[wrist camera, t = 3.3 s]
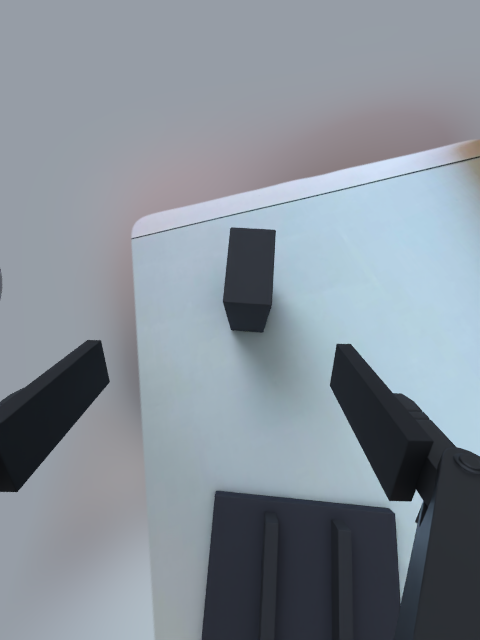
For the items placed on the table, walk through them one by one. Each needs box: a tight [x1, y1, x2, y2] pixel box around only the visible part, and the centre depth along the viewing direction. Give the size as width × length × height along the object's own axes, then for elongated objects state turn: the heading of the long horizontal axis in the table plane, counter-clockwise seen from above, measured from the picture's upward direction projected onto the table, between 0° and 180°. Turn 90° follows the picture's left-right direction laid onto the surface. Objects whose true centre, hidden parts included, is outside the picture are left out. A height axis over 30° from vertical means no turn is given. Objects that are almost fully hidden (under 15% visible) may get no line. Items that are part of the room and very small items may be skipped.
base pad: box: [202, 491, 401, 640], centre depth 23 cm, size 18×14×3 cm
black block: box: [223, 228, 276, 332], centre depth 27 cm, size 4×7×11 cm, turn 176°
